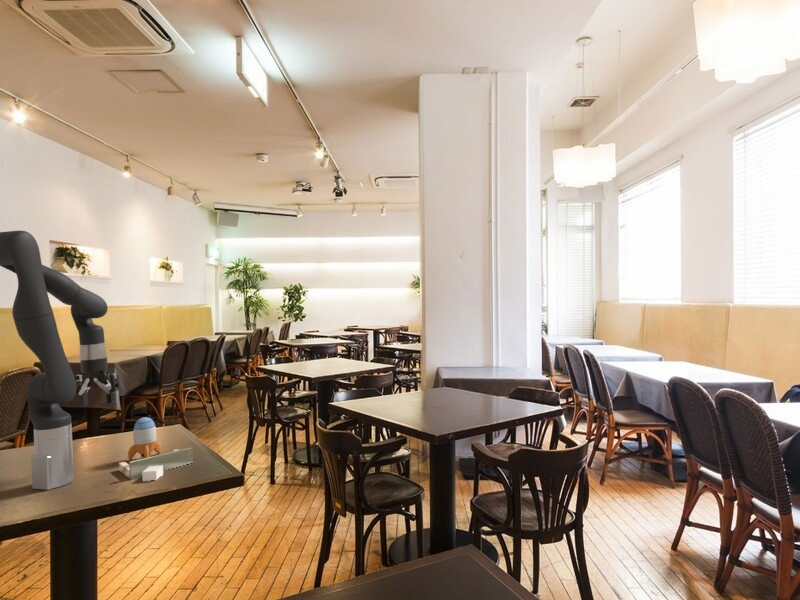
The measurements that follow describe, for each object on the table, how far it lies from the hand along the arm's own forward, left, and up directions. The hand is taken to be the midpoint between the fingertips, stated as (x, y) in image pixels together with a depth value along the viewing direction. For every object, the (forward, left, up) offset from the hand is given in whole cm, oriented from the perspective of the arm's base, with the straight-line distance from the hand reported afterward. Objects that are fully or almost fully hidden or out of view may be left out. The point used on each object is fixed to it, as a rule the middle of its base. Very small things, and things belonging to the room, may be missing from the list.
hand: (97, 404), depth 162 cm
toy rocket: (+7, -11, -20) cm, 24 cm away
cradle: (0, -23, -20) cm, 30 cm away
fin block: (-9, -29, -20) cm, 37 cm away
